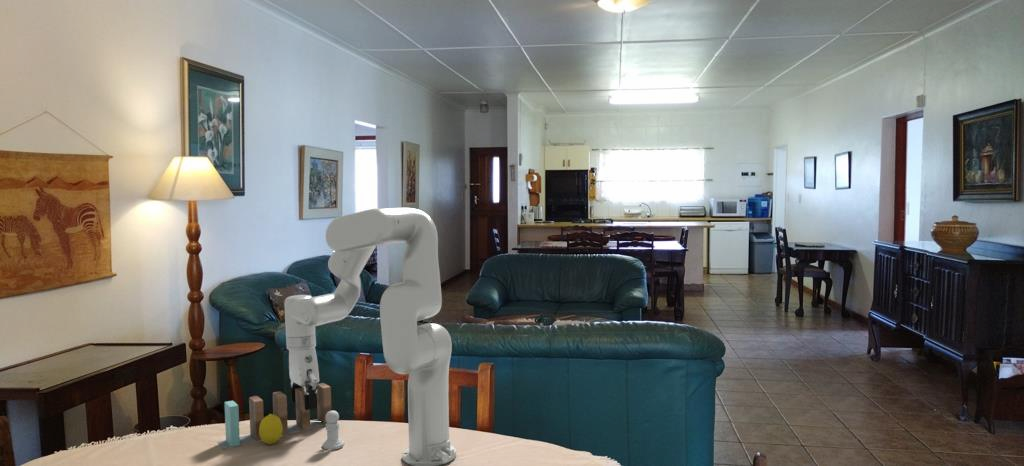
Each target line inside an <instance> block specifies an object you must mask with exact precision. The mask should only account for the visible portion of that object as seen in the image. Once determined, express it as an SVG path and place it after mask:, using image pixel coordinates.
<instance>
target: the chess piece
mask: <svg viewBox="0 0 1024 466" xmlns="http://www.w3.org/2000/svg"><path fill="white" fill-rule="evenodd" d="M339 414H340V413H339V412H337V410H332V409H331V411H329V412H327V414H326V416H325V419H326V422H327V424H326V425H325V431H326V435H327V436H326V437H327V438H326V439H325V441H324V442H323V443H322V448H323V449H324V450H329V451H334V450H339V449H341V448H343V447H344V446H345V441H344V439H342V438H340V437H339V430H340V422H339V419H340V415H339Z"/></svg>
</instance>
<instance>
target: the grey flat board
mask: <svg viewBox="0 0 1024 466" xmlns="http://www.w3.org/2000/svg"><path fill="white" fill-rule="evenodd" d="M311 421H319V420H318V418H317V419H313V420H311ZM323 426H325V427H326V424H323V423H322V422H310V428H308V429H304V430H303V429H301V428H300V427H299V426H297V425H296V423H295V424H294V423H293V424H290V425H288V433H287V434H283V435H281V437H282V436H286V435H291V434H294V433H298V432H303V431H308V430H311V429H316V428H319V427H323ZM260 441H262V440H257V441H256V440H255V439H254V438H253V437H252V436H251V435H250V434H248V435H242V436H240V445H236V446H232V447H231V446H230V445H229V444H228V442H227V441H226V439H225V440H220V441H217V442H216V443H217V445H219V446H220V448H222V450H226V449H227V450H228V449H230V448H235V447H239V446H243V445H247V444H253V443H256V442H260Z"/></svg>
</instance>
